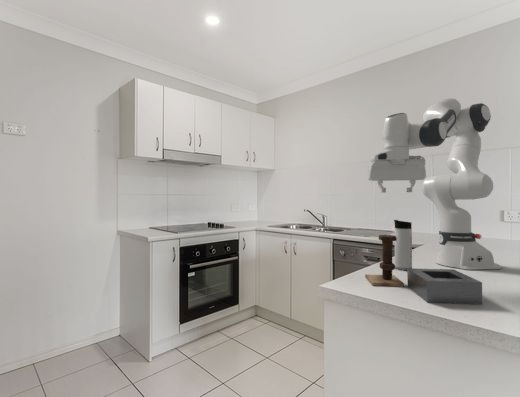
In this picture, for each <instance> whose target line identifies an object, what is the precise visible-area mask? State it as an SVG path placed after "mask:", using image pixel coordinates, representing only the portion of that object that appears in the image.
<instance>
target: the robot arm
mask: <svg viewBox="0 0 520 397" xmlns="http://www.w3.org/2000/svg"><path fill="white" fill-rule="evenodd" d="M491 116H492V114H491V111H490V108H489V107H488V106H487V105H486V104H484V103H482V102H480V103H475V104H471V105H469V106H465V107H462V106H461V103H460V101H459V100H457V99H456V98H450V97H448V98H444V99H442V100H439V101H437V102H435V103H433V104H432V105H431V106H429V107H428V108H427V109H426V110H425V111H424V113H423V116H422V122H416V123H410V122H409V119H408V114H407V113H405V112H399V113H394V114H391V115H388V116H387V117H386V118H385V119H384V123H383V135H382V137H383V139H382V140H383V141H384V144H383V145H384V146H383V152H380V153H377V154H374V155H373V156H371V157H370V162H371V163H370V164H369V166H368V171H367V180H369V181H370V182H373V181H374V182H377V185H378V186H379V188H380V193H382V194H383V193H387V188H386V187H384V186H383V184H384V182H386V181H387V182H388V181H392V182H393V181H409V187H406V193H413V187H414V186H415V184H416V181H423V180H424V181H423V182H422V185H421V189H422V190H421V191H422V193H423V195H424V196H425V197H426V198H427V199H428V200H430V201H431V202H432V203H433V204H434V205H435V207H436V209H437V211H438V214H439V231H438V244H439V248H438V253H437V254H438V255H437V258H436V261H435V263H436V264H438V265H441V266H444V267H451V268H456V269H461V270H472V271H473V270H475V271H476V270H502V265H500V264H498V263H496V262H495V259H494V255H493V253H492V252H491V250H489V249H487V248H486V247H484V246H483V245H481V243H479V242H478V241H477V239H478V240H481V238H482V234H479V233H474V232H472V216H471V214H470V212H469V211H467V210H466V209H464V208H462V207H459V206H458V205H457V203H456V200H462V201H463V200H468V201H469V200H470V201H471V200H472V201H473V200H477V199H484V198H488V197H490V195H491V193H492V192H493V190H494V182H493V180H492V178H491V176H489V175H488V174H486V173H485V172H482V171H480V169H479V166H478V165H479V157H480V154H481V150H482V149H481V148H482V138H481V135H480V134H479V133H482V132H484V131H485V129H486V127H487V126H488V124H489V123H490V121H491ZM454 136H455V140H454V142H453V143H452V145H451V148H450V151H449V155H448V158H447V161H446V162H447V163H446V165H447V166H446V167H447V168H448V169H449V171H451V172H452V173H453V174H451V173H450V174H439V175H438V174H437V175H434V176H433V175H432V176H429V177H427V171H426V159H425V157H423V156H421V155H410V150H417V149H422V148H431V147H433V148H434V147H439V146H441V145H442V144H443V143H444V141H445V140H446V139H447V138H451V137H454Z"/></svg>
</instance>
